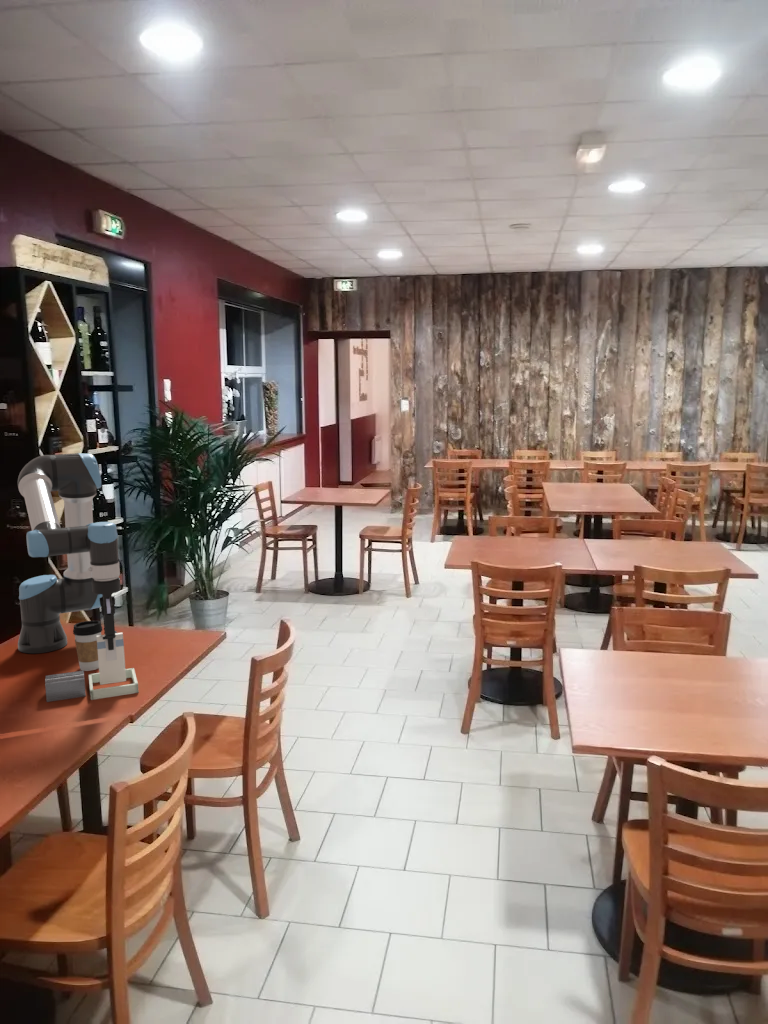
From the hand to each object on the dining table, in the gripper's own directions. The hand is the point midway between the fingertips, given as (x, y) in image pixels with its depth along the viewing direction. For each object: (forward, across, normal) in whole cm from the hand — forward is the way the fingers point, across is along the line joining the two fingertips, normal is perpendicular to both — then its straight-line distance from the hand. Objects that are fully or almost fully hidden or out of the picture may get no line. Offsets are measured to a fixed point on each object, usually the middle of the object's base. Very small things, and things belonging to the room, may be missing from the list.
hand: (111, 658), depth 221 cm
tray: (+10, 0, 0) cm, 10 cm away
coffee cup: (+10, -20, -6) cm, 23 cm away
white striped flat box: (+7, 0, 0) cm, 7 cm away
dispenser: (+10, 0, -12) cm, 16 cm away
